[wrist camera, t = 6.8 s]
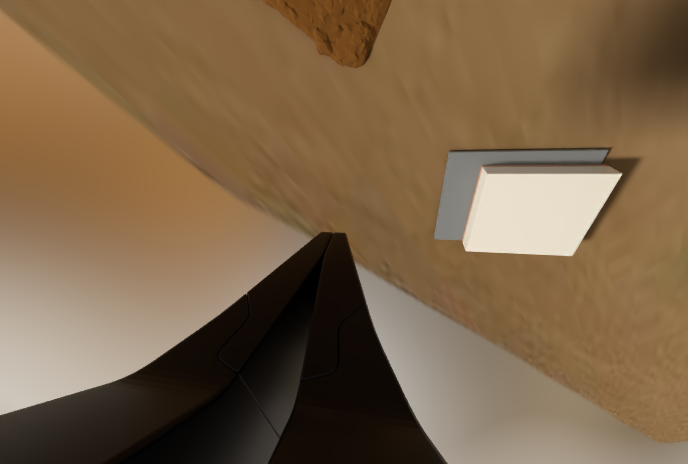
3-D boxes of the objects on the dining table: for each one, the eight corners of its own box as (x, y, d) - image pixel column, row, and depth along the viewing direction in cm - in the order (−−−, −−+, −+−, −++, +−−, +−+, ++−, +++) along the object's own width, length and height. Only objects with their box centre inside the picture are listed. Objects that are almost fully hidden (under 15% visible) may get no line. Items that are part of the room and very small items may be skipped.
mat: (605, 148, 17) (608, 150, 17) (555, 241, 22) (557, 243, 22) (448, 150, 19) (449, 152, 19) (433, 237, 24) (434, 239, 23)
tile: (481, 165, 19) (607, 164, 18) (461, 240, 23) (562, 244, 22) (487, 173, 18) (622, 173, 16) (465, 251, 22) (572, 256, 20)
